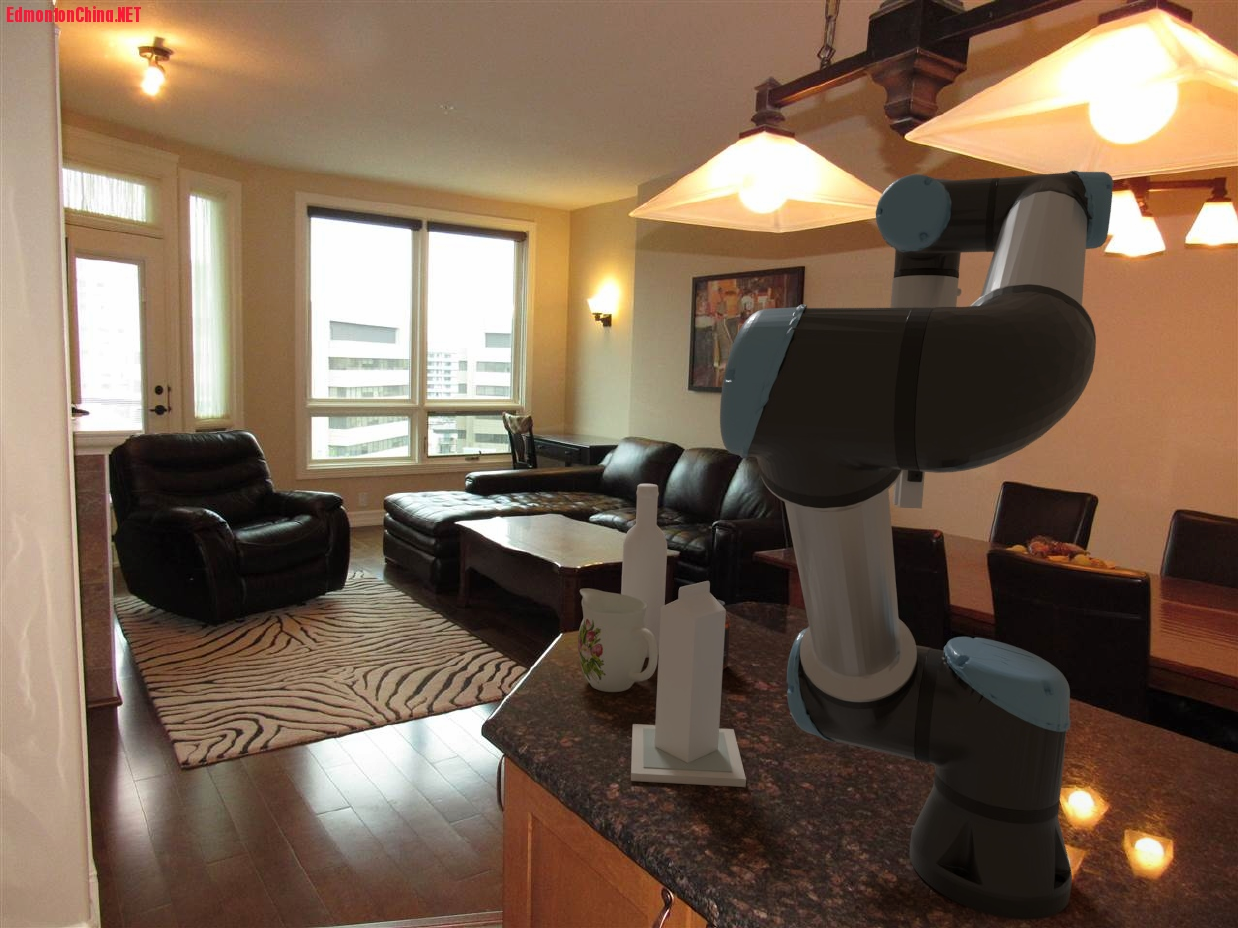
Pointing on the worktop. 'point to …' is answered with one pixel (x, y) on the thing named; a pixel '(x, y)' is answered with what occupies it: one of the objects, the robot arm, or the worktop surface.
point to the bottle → (646, 559)
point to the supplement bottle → (726, 638)
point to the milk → (690, 674)
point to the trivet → (666, 768)
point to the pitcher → (614, 641)
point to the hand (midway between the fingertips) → (907, 505)
